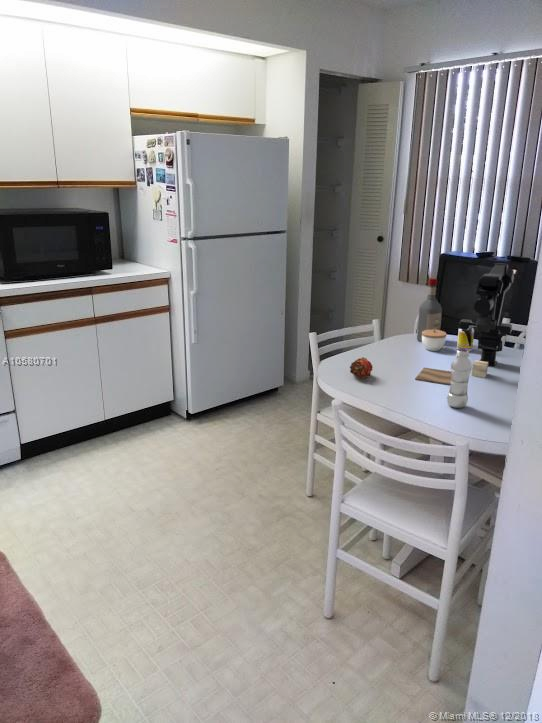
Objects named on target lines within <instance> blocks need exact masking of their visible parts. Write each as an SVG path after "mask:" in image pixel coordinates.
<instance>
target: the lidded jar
mask: <svg viewBox="0 0 542 723" xmlns="http://www.w3.org/2000/svg"><path fill="white" fill-rule="evenodd" d="M446 340H447V332H446V331H444V330H441V329H440V330H436V329H433V330H424V331H422V342H421V343H422V345H423V347H424V348H425V350H427V351H431V352H436V351H437V352H439V351H440V350H441V349H442V348H443V347H444V345H445V343H446Z"/></svg>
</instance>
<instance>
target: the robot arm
mask: <svg viewBox="0 0 542 723" xmlns="http://www.w3.org/2000/svg"><path fill="white" fill-rule="evenodd" d="M514 280H515V273H514V270H513V269H512V268H510V267H509V264H508V263H501V262H496V263H494V264H493V268H491V270H490V271H489V273H484V274H483V275H481V277H480V278H479V279H478V284H477V286H476V291H475V295H478V296H479V298H478V299H477V300H476V301H475V303H474V305H473V308H474V309H473V310H474V311H475V312H476V313H477V315H478V316H477V318H476V321H475V322H473V323H472V321H473V320H472V319H468V318H467V319H466V318H462V319H461V320H460V321H459V322H458V327H457V328H458V330H459V329H462V331H464V332H465V333H466V336H467V339H468V343H469V346H471V340H472V328H473V329H475V331H476V332H478V333H479V332H480V334H479V335H478V341H477V349H478V350H481V356H480V360H479V361H484V362H488V366H491V367H495V366H497V362H498V360H496V359H497V358H496V357H497V352H498V353H500V352H502V351H503V347H504V345H503V337H506V336H507V335H511V333H512V331H513V324H512V323H505V322H501V323H500V320H501V316H502V315H501V314H502V309H503V305H504V301H505V294H506V293H507V292H508V291H509V290H510V289H511V286H512V284H513V283H514Z"/></svg>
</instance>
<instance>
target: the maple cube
mask: <svg viewBox="0 0 542 723" xmlns="http://www.w3.org/2000/svg"><path fill="white" fill-rule="evenodd" d="M488 367H489V365H488V362H484V361H480V360H476V359H475V360H474V361H473V364H472V368H471V377H479V378H486V377H487V375H488Z"/></svg>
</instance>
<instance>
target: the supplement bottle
mask: <svg viewBox="0 0 542 723" xmlns="http://www.w3.org/2000/svg"><path fill="white" fill-rule="evenodd" d="M472 323H474V322H472ZM457 333H458V334H457V341H456V350H458V349H466V350H468V351H469V352H471V351H472V350H473V346H474V335H475V328H473V327H472V340H471V346H469V343H468V339H467V336H466V333H465V332H464V331H462V329H458V332H457Z"/></svg>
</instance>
